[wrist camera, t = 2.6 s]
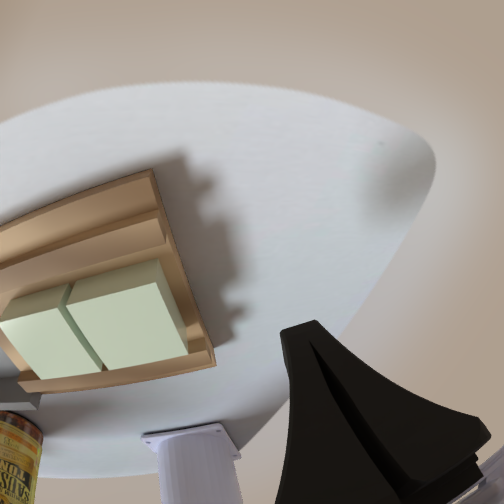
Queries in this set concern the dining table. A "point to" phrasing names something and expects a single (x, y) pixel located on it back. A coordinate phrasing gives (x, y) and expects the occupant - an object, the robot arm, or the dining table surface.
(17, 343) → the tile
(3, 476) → the sauce bottle
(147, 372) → the board
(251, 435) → the dining table surface
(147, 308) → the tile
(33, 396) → the box
